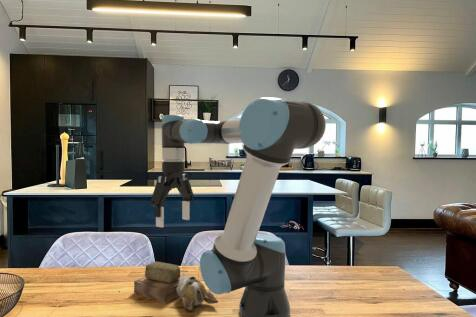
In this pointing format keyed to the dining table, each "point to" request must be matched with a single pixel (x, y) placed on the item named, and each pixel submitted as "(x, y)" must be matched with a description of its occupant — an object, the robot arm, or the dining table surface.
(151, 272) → the stone block
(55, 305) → the dining table surface
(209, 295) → the ceramic sculpture
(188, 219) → the robot arm
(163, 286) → the walnut box
